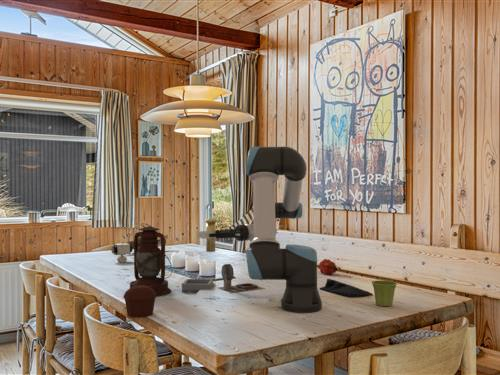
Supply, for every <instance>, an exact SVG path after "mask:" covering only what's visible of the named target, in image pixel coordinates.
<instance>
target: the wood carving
mask: <svg viewBox="0 0 500 375" xmlns="http://www.w3.org/2000/svg"><path fill="white" fill-rule="evenodd" d="M164 237H165V239H166V241H167V240H168V237H169V235H168V234H165V235H164ZM138 240H141V237H138ZM158 240H160V241H158V246H159V245H160V246H161V239H160V238H159V239H158ZM124 243H129V244H130V245H132V248H133V250H134V240H131V241H126V242H123V244H124ZM138 243H139V244H140V242H139V241H138ZM139 244H138V249H139V248H140V245H139Z"/></svg>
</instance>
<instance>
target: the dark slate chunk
mask: <svg viewBox="0 0 500 375" xmlns="http://www.w3.org/2000/svg"><path fill="white" fill-rule="evenodd" d="M319 290H320V291H321V290H322V291H325V292H328V293H330V294H335V295H339V296H343V297H348V298H351V297H352V298H353V297H369V296H368V295H371V296H374V294H373V293H372V292H370V291H367V290H364V289H361V288H359V287H356V286H353V285H351V284H347V283H345V282H344V283H343V282H341V281H338V280H334V279H331V278H327V279H326V283H325V285H324V286H322V287H319Z"/></svg>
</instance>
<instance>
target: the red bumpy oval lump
mask: <svg viewBox="0 0 500 375" xmlns="http://www.w3.org/2000/svg"><path fill="white" fill-rule="evenodd" d="M338 269H339V268H338V266H337V265H336V263H335V262H334V261H332V260H331V259H330V258H329V259H327V258H325V259H322V260H321V261H320V262H319V264H318V266H317V270H319V271H320V273H321V274H324V275H327V276H332V274H336V272H337V271H338Z"/></svg>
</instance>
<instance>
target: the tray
mask: <svg viewBox="0 0 500 375" xmlns="http://www.w3.org/2000/svg"><path fill="white" fill-rule="evenodd" d="M213 284H214V279H213V278H186V279H185V280H184V281H183V282H182V283H181V293H199V291H200V290H210V289H211V288H212V286H213Z"/></svg>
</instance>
